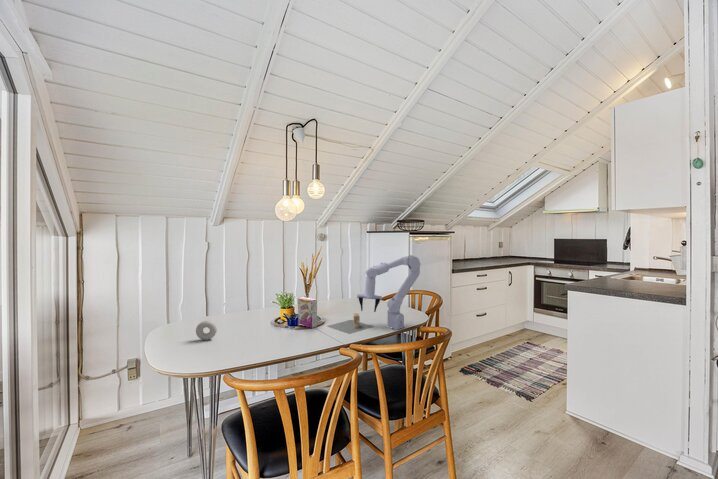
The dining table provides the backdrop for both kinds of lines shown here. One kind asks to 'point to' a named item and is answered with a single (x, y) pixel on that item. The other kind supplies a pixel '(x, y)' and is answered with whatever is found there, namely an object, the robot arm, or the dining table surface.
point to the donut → (206, 335)
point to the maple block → (356, 321)
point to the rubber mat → (349, 327)
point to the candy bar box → (307, 312)
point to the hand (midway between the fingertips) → (368, 311)
